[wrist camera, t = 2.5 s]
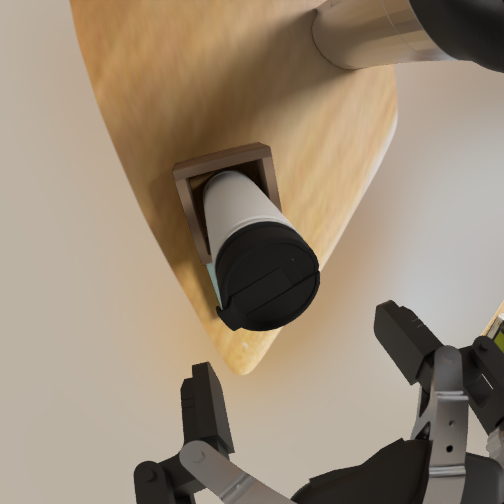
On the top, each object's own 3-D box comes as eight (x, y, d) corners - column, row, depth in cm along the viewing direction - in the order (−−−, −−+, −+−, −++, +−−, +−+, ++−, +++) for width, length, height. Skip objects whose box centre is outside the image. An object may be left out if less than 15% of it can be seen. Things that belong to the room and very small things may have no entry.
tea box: (490, 337, 83) (508, 356, 70) (481, 342, 80) (500, 363, 68) (505, 310, 76) (526, 329, 63) (497, 314, 74) (519, 336, 61)
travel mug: (189, 188, 31) (191, 288, 14) (239, 159, 31) (306, 221, 13) (217, 229, 34) (248, 352, 17) (263, 202, 34) (340, 302, 16)
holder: (175, 163, 29) (172, 172, 25) (258, 142, 30) (269, 146, 26) (200, 245, 35) (202, 265, 30) (274, 224, 35) (286, 241, 31)
